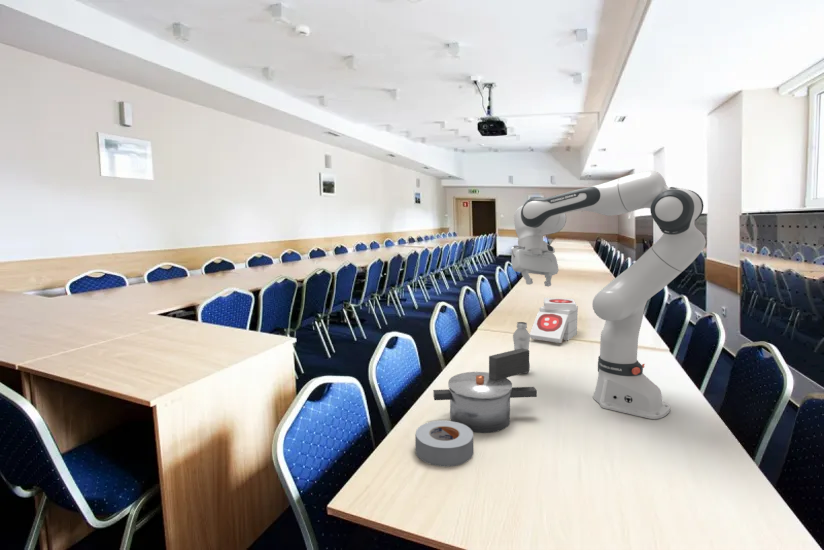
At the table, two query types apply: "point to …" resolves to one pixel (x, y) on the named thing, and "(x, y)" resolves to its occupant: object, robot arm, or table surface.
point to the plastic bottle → (521, 337)
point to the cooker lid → (491, 376)
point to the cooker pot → (482, 409)
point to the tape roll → (444, 443)
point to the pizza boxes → (555, 320)
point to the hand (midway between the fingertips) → (539, 285)
